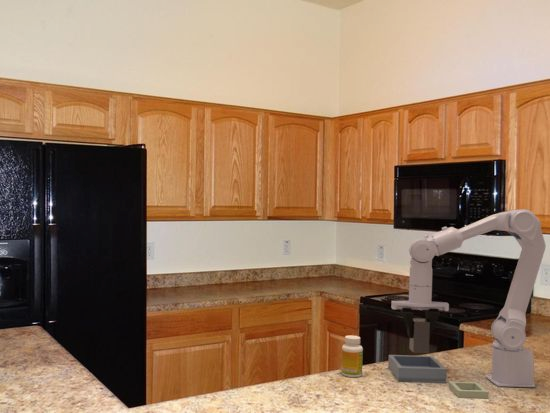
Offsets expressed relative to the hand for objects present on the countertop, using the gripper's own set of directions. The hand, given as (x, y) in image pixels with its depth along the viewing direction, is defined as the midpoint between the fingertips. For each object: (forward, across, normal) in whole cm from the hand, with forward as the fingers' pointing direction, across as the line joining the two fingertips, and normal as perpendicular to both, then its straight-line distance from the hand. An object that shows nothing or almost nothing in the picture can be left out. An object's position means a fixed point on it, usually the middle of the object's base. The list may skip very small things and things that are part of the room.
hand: (418, 337), depth 143 cm
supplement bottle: (+10, +17, 0) cm, 20 cm away
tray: (+10, 0, 0) cm, 10 cm away
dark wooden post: (+3, 0, 0) cm, 3 cm away
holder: (+10, -9, +12) cm, 18 cm away
